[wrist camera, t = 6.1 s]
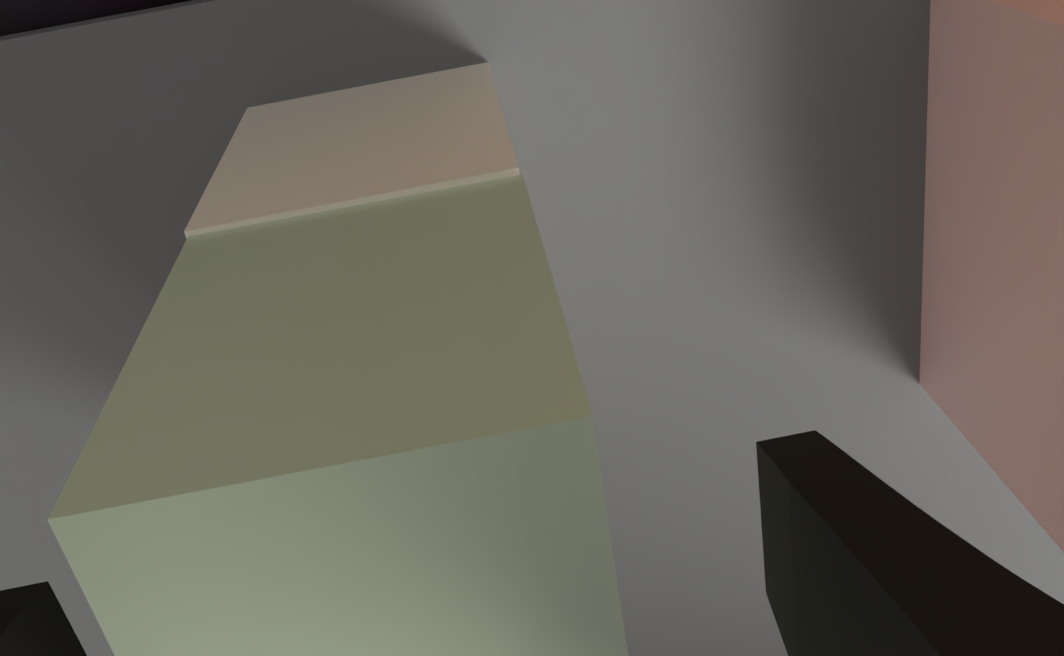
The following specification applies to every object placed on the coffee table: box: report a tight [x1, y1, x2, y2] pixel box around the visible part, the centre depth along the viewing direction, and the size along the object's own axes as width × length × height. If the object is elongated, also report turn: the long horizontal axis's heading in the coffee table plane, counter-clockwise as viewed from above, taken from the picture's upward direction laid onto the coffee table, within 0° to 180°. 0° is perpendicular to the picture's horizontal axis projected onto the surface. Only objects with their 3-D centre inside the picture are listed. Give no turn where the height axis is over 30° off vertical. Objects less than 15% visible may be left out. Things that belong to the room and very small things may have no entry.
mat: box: [0, 0, 1064, 656], centre depth 19 cm, size 20×22×1 cm
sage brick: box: [47, 175, 629, 656], centre depth 10 cm, size 7×4×5 cm, turn 9°
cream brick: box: [184, 62, 520, 239], centre depth 14 cm, size 7×4×5 cm, turn 9°
